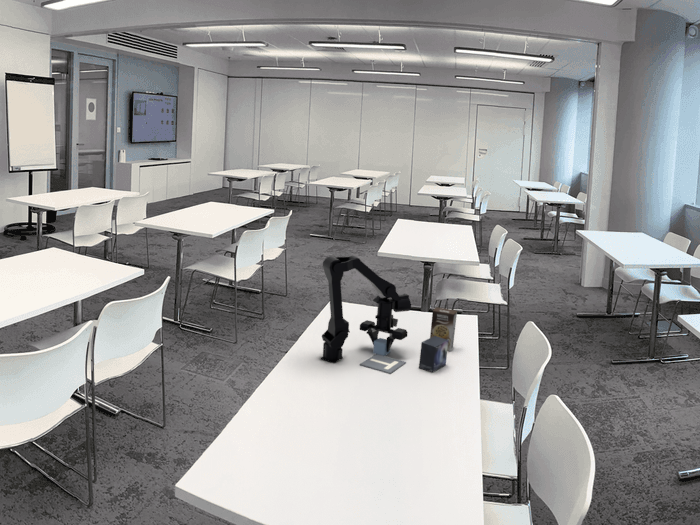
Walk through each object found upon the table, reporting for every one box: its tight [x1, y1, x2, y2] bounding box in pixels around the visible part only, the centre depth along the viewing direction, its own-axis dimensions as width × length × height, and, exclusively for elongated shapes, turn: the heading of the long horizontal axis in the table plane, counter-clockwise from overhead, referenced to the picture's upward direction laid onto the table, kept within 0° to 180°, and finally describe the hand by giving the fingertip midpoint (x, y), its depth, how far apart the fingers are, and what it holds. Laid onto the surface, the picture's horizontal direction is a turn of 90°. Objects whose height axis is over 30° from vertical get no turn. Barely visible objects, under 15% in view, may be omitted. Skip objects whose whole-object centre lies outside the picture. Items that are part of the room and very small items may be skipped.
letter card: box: [359, 353, 407, 375], centre depth 220 cm, size 13×13×1 cm
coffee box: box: [429, 306, 458, 352], centre depth 240 cm, size 9×6×16 cm
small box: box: [418, 336, 449, 373], centre depth 220 cm, size 11×6×10 cm, turn 143°
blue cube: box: [372, 337, 391, 356], centre depth 231 cm, size 5×5×5 cm
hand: (381, 350), depth 232 cm, fingers closed on blue cube, 5 cm apart
